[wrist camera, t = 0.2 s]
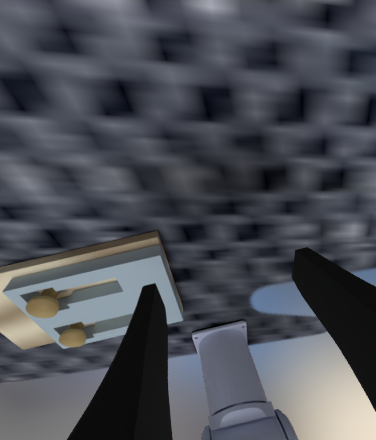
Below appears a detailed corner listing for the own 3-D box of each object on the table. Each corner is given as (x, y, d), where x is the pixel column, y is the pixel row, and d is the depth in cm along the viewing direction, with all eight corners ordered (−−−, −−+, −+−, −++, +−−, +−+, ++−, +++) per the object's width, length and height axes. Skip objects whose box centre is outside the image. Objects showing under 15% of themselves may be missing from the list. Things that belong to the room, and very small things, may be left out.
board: (182, 304, 27) (185, 330, 24) (27, 341, 27) (12, 372, 24) (157, 230, 20) (157, 254, 17) (-50, 278, 20) (-84, 311, 17)
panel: (181, 308, 25) (183, 320, 24) (67, 335, 25) (63, 348, 24) (159, 244, 20) (160, 255, 18) (11, 278, 20) (2, 292, 18)
